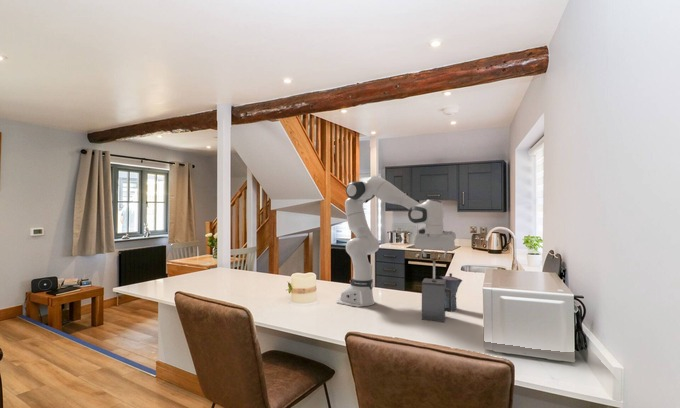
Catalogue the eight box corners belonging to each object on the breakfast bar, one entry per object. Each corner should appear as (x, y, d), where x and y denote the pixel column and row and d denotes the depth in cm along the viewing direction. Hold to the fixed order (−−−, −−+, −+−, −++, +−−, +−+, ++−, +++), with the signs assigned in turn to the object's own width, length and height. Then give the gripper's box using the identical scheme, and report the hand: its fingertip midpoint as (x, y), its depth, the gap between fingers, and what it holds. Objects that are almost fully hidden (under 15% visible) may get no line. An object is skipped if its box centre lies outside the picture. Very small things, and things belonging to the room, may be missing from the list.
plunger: (425, 297, 179) (425, 252, 179) (427, 294, 186) (427, 250, 186) (441, 299, 176) (441, 253, 177) (442, 295, 184) (442, 251, 184)
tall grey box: (421, 320, 178) (421, 282, 178) (423, 313, 188) (424, 278, 188) (450, 323, 173) (451, 284, 173) (451, 316, 183) (451, 280, 184)
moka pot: (463, 312, 192) (463, 275, 192) (434, 310, 195) (434, 274, 195) (460, 307, 201) (461, 272, 201) (433, 305, 204) (433, 271, 204)
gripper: (455, 230, 181) (455, 257, 181) (415, 229, 188) (415, 255, 188) (455, 231, 175) (455, 259, 175) (413, 230, 182) (413, 257, 182)
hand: (434, 257), depth 181 cm, fingers open, 8 cm apart
